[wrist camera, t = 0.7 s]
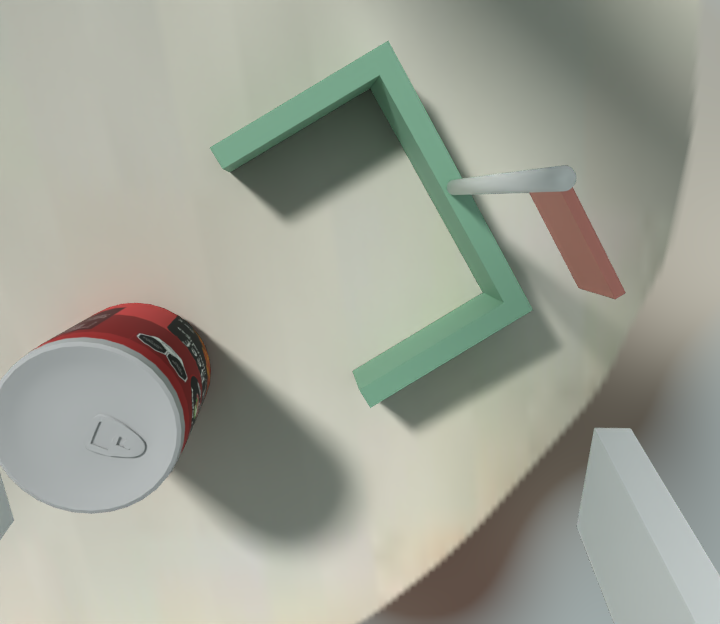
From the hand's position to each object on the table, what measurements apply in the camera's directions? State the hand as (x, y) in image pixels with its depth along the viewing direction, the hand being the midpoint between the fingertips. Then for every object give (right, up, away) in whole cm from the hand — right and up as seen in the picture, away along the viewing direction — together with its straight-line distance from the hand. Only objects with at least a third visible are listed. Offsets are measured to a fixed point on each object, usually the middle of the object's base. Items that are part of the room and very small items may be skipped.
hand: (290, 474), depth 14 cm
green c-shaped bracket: (+3, +9, +24) cm, 25 cm away
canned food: (-11, 0, +24) cm, 26 cm away
